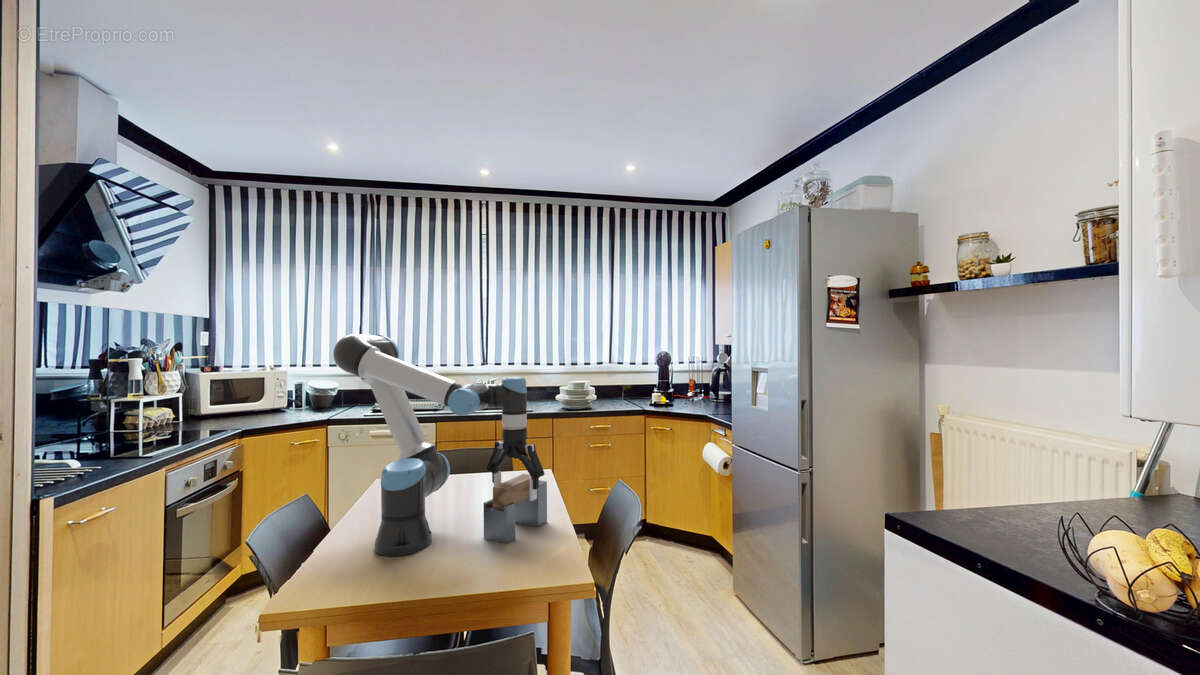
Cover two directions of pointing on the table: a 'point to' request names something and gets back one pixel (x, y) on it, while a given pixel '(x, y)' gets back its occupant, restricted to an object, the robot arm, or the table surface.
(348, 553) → the table surface
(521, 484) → the walnut rail
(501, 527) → the cup bracket stand
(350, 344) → the robot arm
